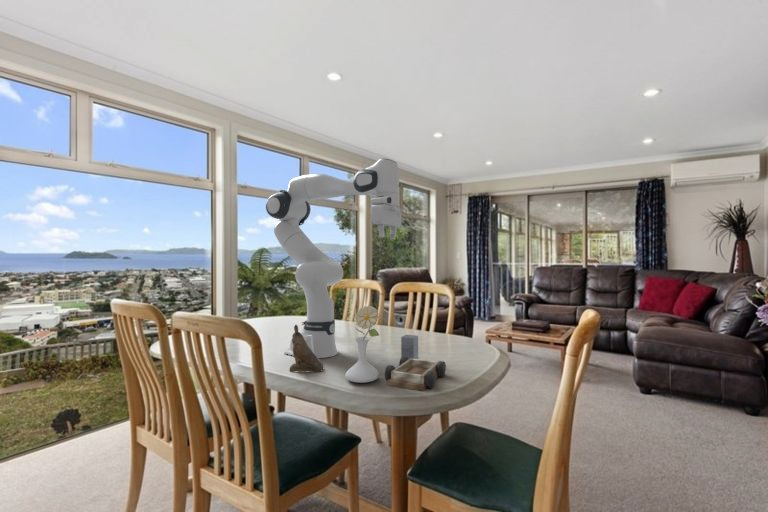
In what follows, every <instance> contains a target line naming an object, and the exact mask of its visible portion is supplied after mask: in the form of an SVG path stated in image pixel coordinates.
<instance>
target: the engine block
mask: <svg viewBox="0 0 768 512" xmlns="http://www.w3.org/2000/svg"><path fill="white" fill-rule="evenodd" d="M400 339H401V340H400V343H401V345H400V346H401V347H400V348H401V349H400V350H401V351H400V352H401V355H400V356H401V357H402V356H404V357H408V360H409V359H410V358H412V359H419V335H414V334H405V335H402V336H401V337H400ZM401 357H400V358H401Z"/></svg>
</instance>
